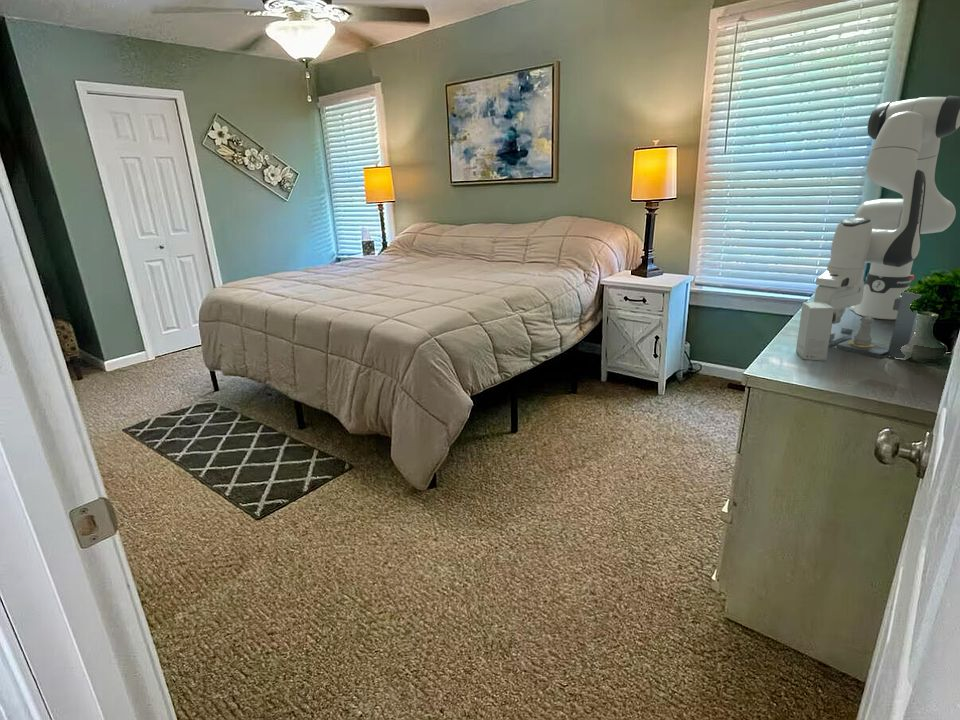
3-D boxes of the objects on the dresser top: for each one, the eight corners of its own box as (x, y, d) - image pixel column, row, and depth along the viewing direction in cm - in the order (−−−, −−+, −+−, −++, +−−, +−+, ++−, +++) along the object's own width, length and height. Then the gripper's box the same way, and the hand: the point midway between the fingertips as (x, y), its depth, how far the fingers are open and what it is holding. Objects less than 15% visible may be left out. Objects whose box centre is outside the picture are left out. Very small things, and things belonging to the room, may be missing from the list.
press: (840, 336, 158) (852, 279, 152) (920, 353, 141) (937, 290, 135) (813, 345, 151) (825, 285, 145) (894, 364, 134) (910, 298, 128)
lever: (824, 336, 153) (829, 311, 150) (834, 339, 150) (839, 313, 148) (816, 339, 151) (821, 313, 148) (826, 341, 149) (832, 315, 146)
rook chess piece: (848, 341, 149) (854, 315, 146) (863, 340, 149) (869, 314, 146) (859, 346, 145) (865, 319, 142) (875, 345, 145) (881, 318, 142)
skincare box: (826, 361, 139) (837, 308, 134) (801, 359, 141) (810, 307, 136) (817, 351, 146) (827, 301, 141) (793, 350, 148) (802, 300, 143)
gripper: (850, 270, 153) (841, 315, 158) (813, 279, 144) (804, 326, 148) (874, 273, 148) (864, 319, 153) (837, 282, 139) (827, 331, 143)
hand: (834, 323), depth 150 cm, fingers closed
